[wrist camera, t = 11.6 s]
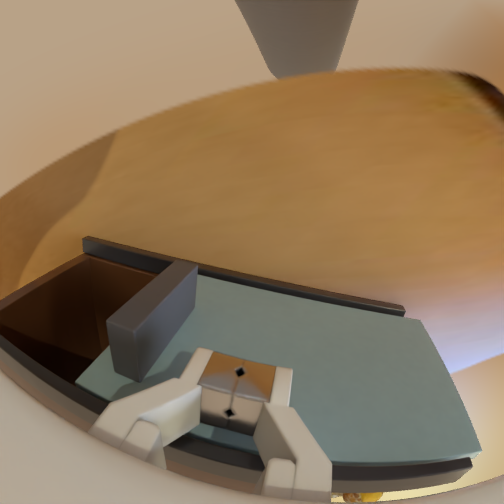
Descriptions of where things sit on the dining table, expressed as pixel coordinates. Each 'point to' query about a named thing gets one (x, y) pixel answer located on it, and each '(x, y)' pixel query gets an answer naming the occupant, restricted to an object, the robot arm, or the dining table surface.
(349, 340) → the grey sliding lid
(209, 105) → the dining table surface
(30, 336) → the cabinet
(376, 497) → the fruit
